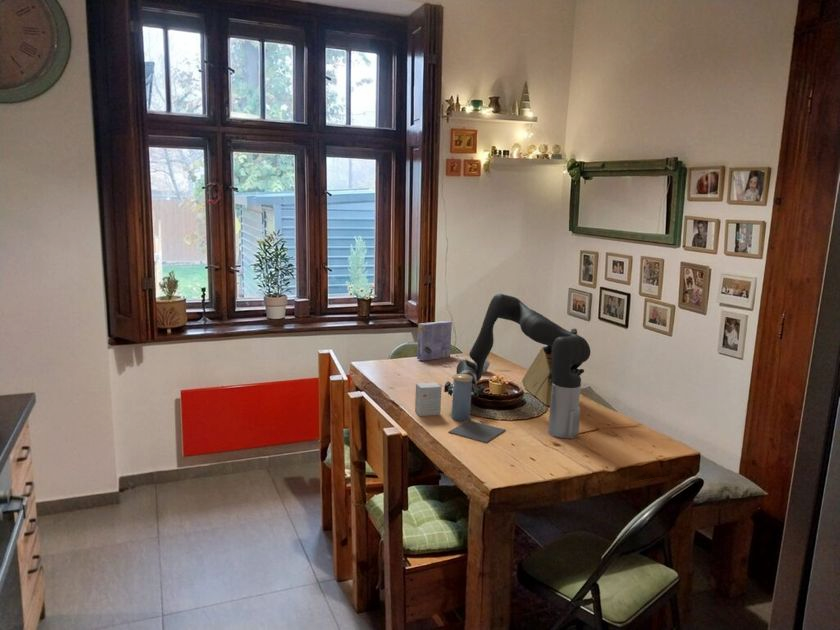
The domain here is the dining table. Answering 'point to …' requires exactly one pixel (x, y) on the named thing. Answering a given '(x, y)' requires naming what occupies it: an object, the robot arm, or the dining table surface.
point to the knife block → (544, 374)
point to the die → (484, 365)
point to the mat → (477, 431)
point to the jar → (461, 397)
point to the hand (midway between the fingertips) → (462, 394)
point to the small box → (428, 399)
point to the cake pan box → (434, 340)
